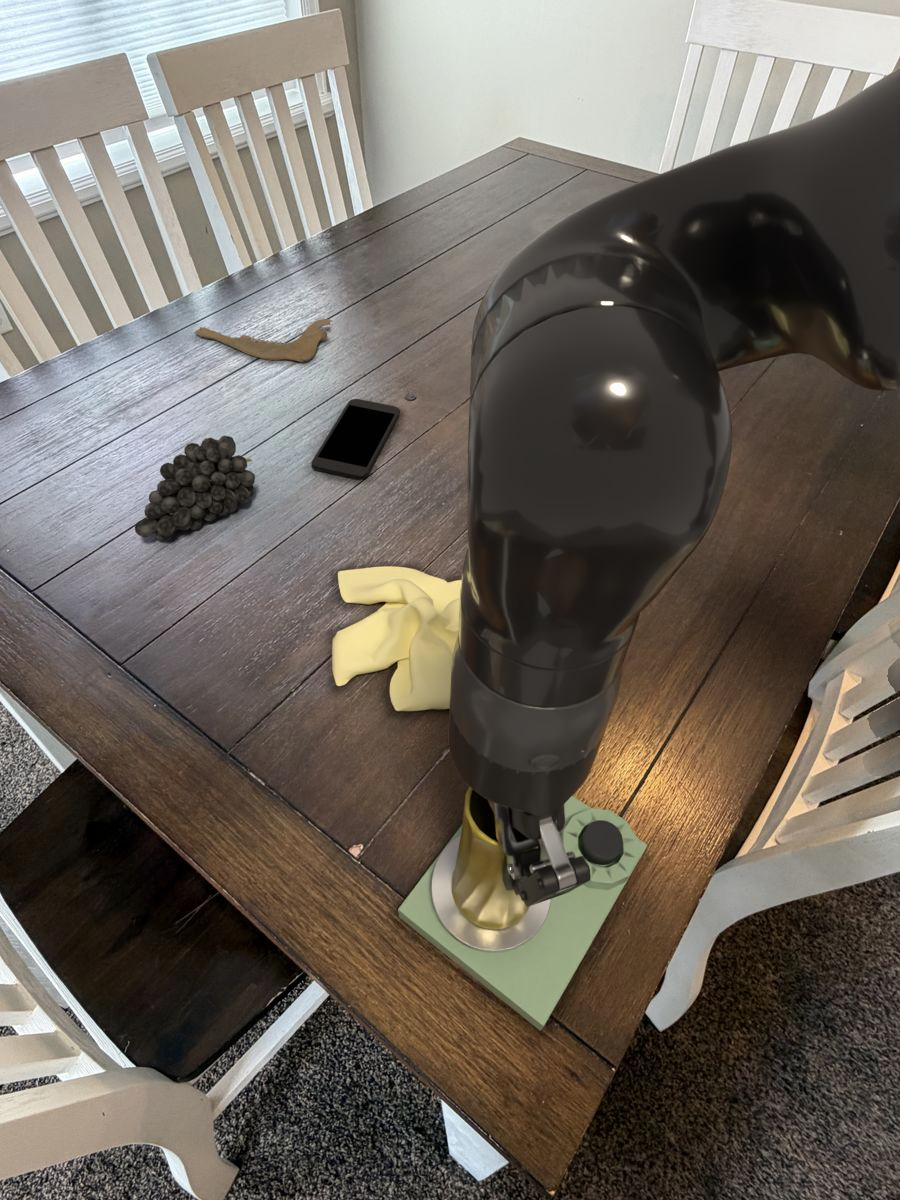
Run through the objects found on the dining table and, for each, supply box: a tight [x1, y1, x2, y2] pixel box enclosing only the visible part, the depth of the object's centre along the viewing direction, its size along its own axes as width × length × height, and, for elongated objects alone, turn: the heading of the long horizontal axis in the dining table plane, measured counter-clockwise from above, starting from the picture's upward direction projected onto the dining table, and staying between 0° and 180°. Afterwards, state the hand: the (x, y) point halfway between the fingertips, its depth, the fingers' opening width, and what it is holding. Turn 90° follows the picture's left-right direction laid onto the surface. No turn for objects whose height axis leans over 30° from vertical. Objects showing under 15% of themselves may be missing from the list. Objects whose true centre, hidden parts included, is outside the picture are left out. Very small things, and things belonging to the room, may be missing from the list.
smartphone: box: [311, 398, 401, 480], centre depth 94 cm, size 7×15×1 cm, turn 165°
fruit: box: [134, 435, 256, 541], centre depth 82 cm, size 9×8×15 cm
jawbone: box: [193, 318, 333, 362], centre depth 107 cm, size 9×20×2 cm, turn 95°
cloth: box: [331, 565, 462, 712], centre depth 72 cm, size 22×19×6 cm
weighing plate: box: [431, 835, 551, 953], centre depth 55 cm, size 9×9×1 cm
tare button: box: [581, 820, 623, 865], centre depth 57 cm, size 3×3×2 cm
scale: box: [397, 795, 648, 1032], centre depth 57 cm, size 16×13×4 cm
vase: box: [452, 785, 538, 929], centre depth 49 cm, size 6×6×14 cm
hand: (502, 836), depth 47 cm, fingers closed on vase, 5 cm apart
